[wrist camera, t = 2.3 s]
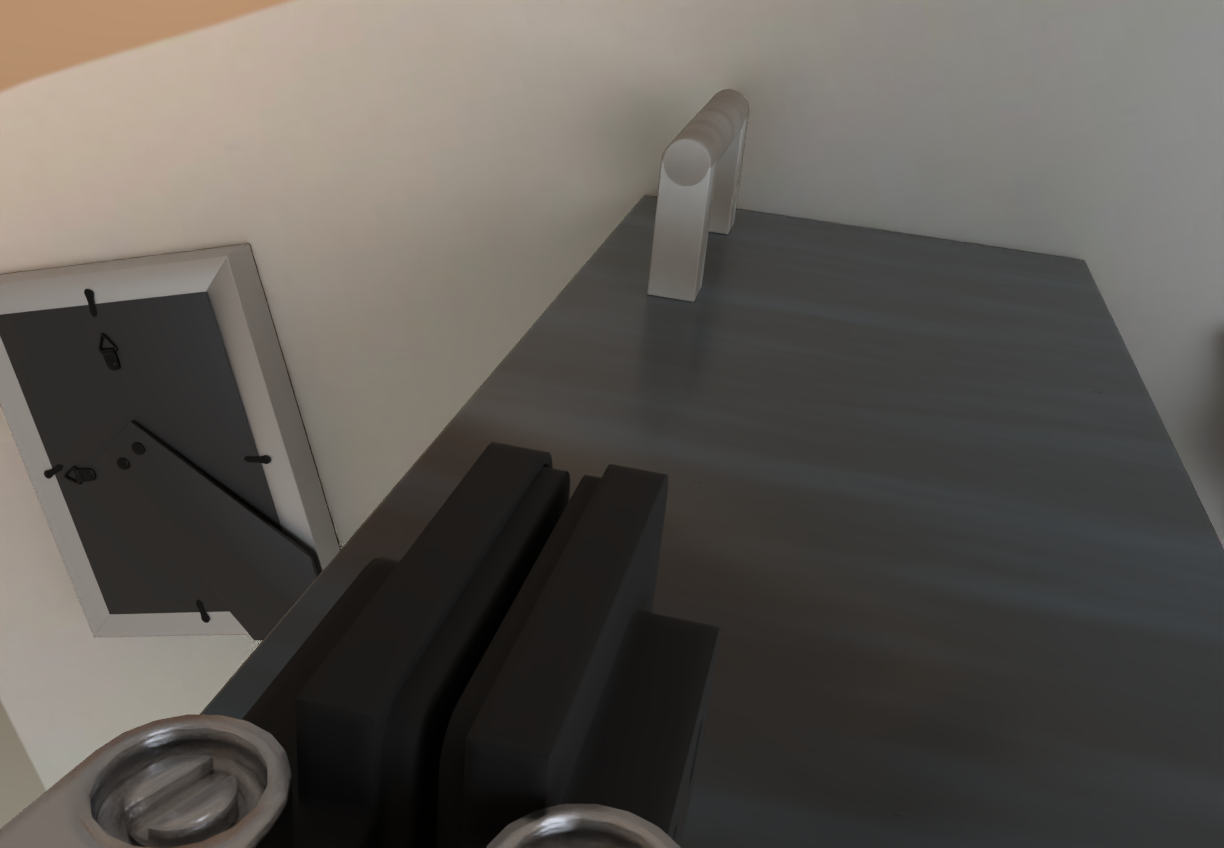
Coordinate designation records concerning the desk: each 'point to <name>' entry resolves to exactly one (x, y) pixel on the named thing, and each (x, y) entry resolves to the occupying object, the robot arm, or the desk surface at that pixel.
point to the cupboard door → (871, 524)
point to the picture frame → (164, 441)
